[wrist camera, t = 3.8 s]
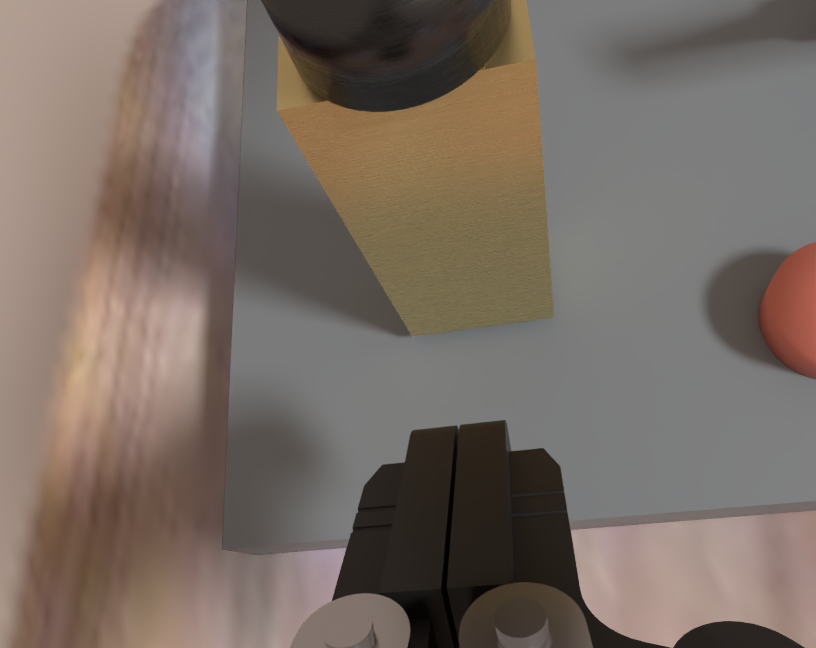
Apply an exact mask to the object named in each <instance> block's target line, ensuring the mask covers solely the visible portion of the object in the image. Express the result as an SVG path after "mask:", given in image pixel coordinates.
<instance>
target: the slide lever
mask: <svg viewBox="0 0 816 648" xmlns="http://www.w3.org/2000/svg"><path fill="white" fill-rule="evenodd" d="M261 1H262V3H263V5H264V7H265V9H266V11H267V13H268V15H269V17H270V19H271V21H272V23H273V25H274V27H275V28H276V30H277V32H278V78H277V112H278V114H279V115H280V117H281V119H282V120H283V122H284V124H285V125H286V127H287V129H288V130H289V132H290V134H291V135H292V137H293V139H294V140H295V142H296V144H297V145H298V147H299V149H300V150H301V152H302V154H303V155H304V157H305V159H306V160H307V162H308V164H309V165H310V167H311V169H312V170H313V172H314V174H315V175H316V177H317V179H318V180H319V182H320V184H321V185H322V187H323V189H324V190H325V192H326V194H327V195H328V197H329V199H330V201H331V202H332V204H333V206H334V207H335V209H336V211H337V212H338V214H339V216H340V217H341V219H342V221H343V222H344V224H345V226H346V227H347V229H348V231H349V232H350V234H351V236H352V237H353V239H354V241H355V242H356V244H357V246H358V247H359V249H360V251H361V252H362V254H363V256H364V257H365V259H366V261H367V262H368V264H369V266H370V267H371V269H372V271H373V272H374V274H375V276H376V277H377V279H378V281H379V282H380V284H381V286H382V287H383V289H384V291H385V292H386V294H387V296H388V297H389V299H390V301H391V302H392V304H393V306H394V307H395V309H396V311H397V312H398V314H399V316H400V317H401V319H402V321H403V322H404V324H405V326H406V327H407V329H408V331H409V332H410V334H411V336H412V337H413V336H421V335H428V334H436V333H443V332H451V331H458V330H465V329H473V328H480V327H488V326H495V325H503V324H510V323H518V322H525V321H533V320H540V319H548V318H554V312H553V298H552V284H551V270H550V255H549V241H548V227H547V213H546V199H545V184H544V170H543V156H542V142H541V128H540V113H539V99H538V85H537V71H536V58H535V52H534V46H533V40H532V34H531V27H530V21H529V15H528V9H527V3H526V0H261Z"/></svg>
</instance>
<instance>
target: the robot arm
mask: <svg viewBox="0 0 816 648" xmlns="http://www.w3.org/2000/svg"><path fill="white" fill-rule="evenodd" d="M352 528H353V532H352V533H351V534H350V538H349V542H348V545H347V549H346V552H345V556H344V559H343V563H342V567H341V570H340V574H339V577H338V581H337V585H336V588H335V592H334V595H333V599H332V602H329V603H327V604H326V605H324V606H322V607H321V608H319V609H318V610H317V611H315V612H314V613H313V614H312V615H311V616H310V617H309V618H308V619H307V620H306V621H305V622H304V623H303V624H302V626H301V627H300V628H299V630H298V632H297V634H296V636H295V638H294V640H293V642H292V645H291V647H290V648H669V647H665V646H660V645H655V644H651V643H646V642H642V641H638V640H635V639H631V638H629V637H626V636H624V635H621V634H619V633H617V632H615V631H614V630H612V629H610V628H608V627H607V626H606V625H604V624H603V623H602V622H600V621H599V620H598V619H597V618H596V617H595V616H594V615H593V614H592V613H591V611H590V610H589V609H588V607H587V606H586V604H585V602H584V600H583V598H582V595H581V591H580V587H579V580H578V574H577V568H576V562H575V555H574V549H573V543H572V536H571V530H570V524H569V518H568V512H567V505H566V499H565V493H564V486H563V480H562V474H561V467H560V465H559V464H558V463H557V462H556V461H555V460H554V459H553V458H552V457H551V456H550V455H549V454H548V452H547V451H546V450H545V449H544V448H538V449H528V450H518V451H511V445H510V439H509V433H508V427H507V423H506V420H499V421H490V422H481V423H472V424H462V425H460V427H459V428H458V426H457V425H455V426H446V427H437V428H428V429H418V430H412V431H411V434H410V438H409V443H408V448H407V453H406V459H405V462H403V463H393V464H383V465H381V467H380V468H379V469H378V470H377V471H376V472H375V474H374V475H373V476H372V477H371V478H370V479H369V480H368V482H367V483H366V484H365V485H364V488H363V491H362V495H361V498H360V502H359V506H358V513H356V516H355V520H354V524H353V527H352ZM673 648H804V647H803V646H801V645H799V644H798V643H796V642H794V641H793V640H791V639H789V638H787V637H786V636H784V635H782V634H780V633H778V632H776V631H773V630H771V629H768V628H766V627H762V626H759V625H755V624H751V623H744V622H734V621H723V622H714V623H710V624H705V625H702V626H700V627H697V628H695V629H692V630H691V631H689V632H688V633H686V634H685V635H684V636H683V637H681V638H680V639H679V640H678V641H677V643H676V644H675V646H674V647H673Z"/></svg>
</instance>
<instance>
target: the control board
mask: <svg viewBox="0 0 816 648" xmlns="http://www.w3.org/2000/svg"><path fill="white" fill-rule="evenodd" d="M526 3H527V9H528V15H529V21H530V27H531V34H532V40H533V46H534V52H535V58H536V71H537V85H538V99H539V113H540V128H541V142H542V156H543V170H544V184H545V199H546V213H547V227H548V241H549V255H550V270H551V284H552V298H553V312H554V318H548V319H540V320H533V321H525V322H518V323H510V324H503V325H495V326H488V327H480V328H473V329H465V330H458V331H451V332H443V333H436V334H428V335H421V336H413V337H412V336H411V334H410V332H409V331H408V329H407V327H406V326H405V324H404V322H403V321H402V319H401V317H400V316H399V314H398V312H397V311H396V309H395V307H394V306H393V304H392V302H391V301H390V299H389V297H388V296H387V294H386V292H385V291H384V289H383V287H382V286H381V284H380V282H379V281H378V279H377V277H376V276H375V274H374V272H373V271H372V269H371V267H370V266H369V264H368V262H367V261H366V259H365V257H364V256H363V254H362V252H361V251H360V249H359V247H358V246H357V244H356V242H355V241H354V239H353V237H352V236H351V234H350V232H349V231H348V229H347V227H346V226H345V224H344V222H343V221H342V219H341V217H340V216H339V214H338V212H337V211H336V209H335V207H334V206H333V204H332V202H331V201H330V199H329V197H328V195H327V194H326V192H325V190H324V189H323V187H322V185H321V184H320V182H319V180H318V179H317V177H316V175H315V174H314V172H313V170H312V169H311V167H310V165H309V164H308V162H307V160H306V159H305V157H304V155H303V154H302V152H301V150H300V149H299V147H298V145H297V144H296V142H295V140H294V139H293V137H292V135H291V134H290V132H289V130H288V129H287V127H286V125H285V124H284V122H283V120H282V119H281V117H280V115H279V114H278V112H277V78H278V32H277V30H276V28H275V27H274V25H273V23H272V21H271V19H270V17H269V15H268V13H267V11H266V9H265V7H264V5H263V3H262V1H261V0H247V17H246V39H245V60H244V82H243V104H242V125H241V147H240V169H239V191H238V212H237V234H236V256H235V277H234V299H233V321H232V343H231V364H230V386H229V408H228V429H227V451H226V473H225V494H224V516H223V538H222V549H223V550H229V551H235V552H241V553H247V554H253V555H260V554H272V553H285V552H297V551H310V550H322V549H335V548H347V545H348V542H349V538H350V534H351V533H352V532H353V528H352V527H353V524H354V520H355V516H356V513H358V506H359V502H360V498H361V495H362V491H363V488H364V485H365V484H366V483H367V482H368V480H369V479H370V478H371V477H372V476H373V475H374V474H375V472H376V471H377V470H378V469H379V468H380V467H381V465H383V464H393V463H403V462H405V459H406V453H407V448H408V443H409V438H410V434H411V431H412V430H418V429H428V428H437V427H446V426H455V425H457V426H458V428H459V427H460V425H462V424H472V423H481V422H490V421H499V420H506V423H507V427H508V433H509V439H510V445H511V451H518V450H528V449H538V448H544V449H545V450H546V451H547V452H548V454H549V455H550V456H551V457H552V458H553V459H554V460H555V461H556V462H557V463H558V464H559V465H560V467H561V474H562V480H563V486H564V493H565V499H566V505H567V512H568V518H569V524H570V530H573V529H586V528H599V527H611V526H624V525H636V524H649V523H661V522H674V521H686V520H699V519H712V518H724V517H737V516H749V515H762V514H774V513H787V512H799V511H812V510H816V0H526Z"/></svg>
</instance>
